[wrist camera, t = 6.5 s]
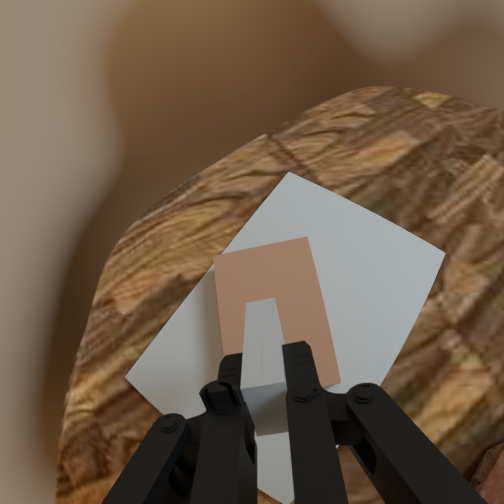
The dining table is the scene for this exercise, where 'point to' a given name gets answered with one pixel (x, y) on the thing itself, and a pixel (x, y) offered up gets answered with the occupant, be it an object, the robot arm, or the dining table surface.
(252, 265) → the terracotta tile
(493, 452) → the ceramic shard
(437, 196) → the dining table surface
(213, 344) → the grey mat
